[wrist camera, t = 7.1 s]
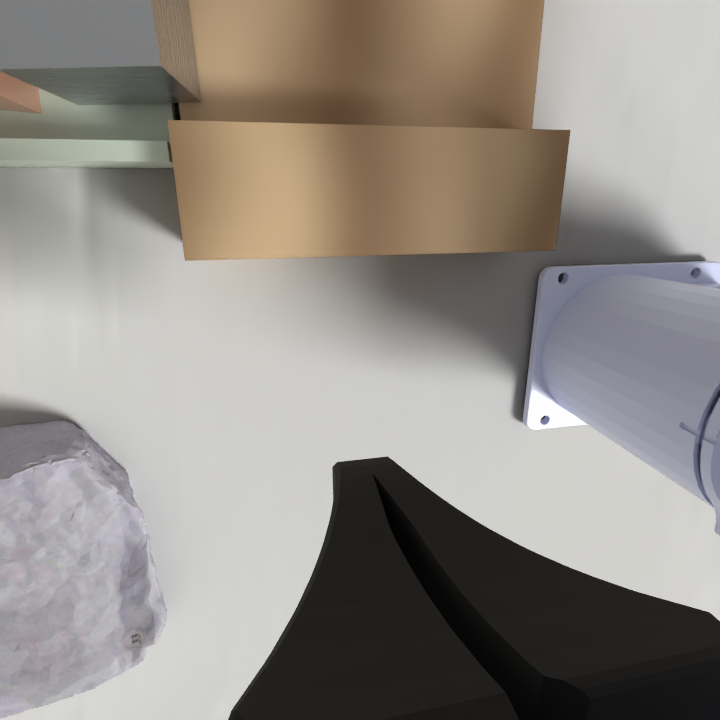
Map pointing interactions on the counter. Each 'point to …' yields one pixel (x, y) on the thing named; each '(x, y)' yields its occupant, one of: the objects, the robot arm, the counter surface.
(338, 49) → the oak channel board
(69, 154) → the sage tray
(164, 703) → the counter surface
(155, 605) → the stone block
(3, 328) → the counter surface
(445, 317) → the counter surface
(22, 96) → the terracotta block
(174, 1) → the grey steel block
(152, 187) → the counter surface
